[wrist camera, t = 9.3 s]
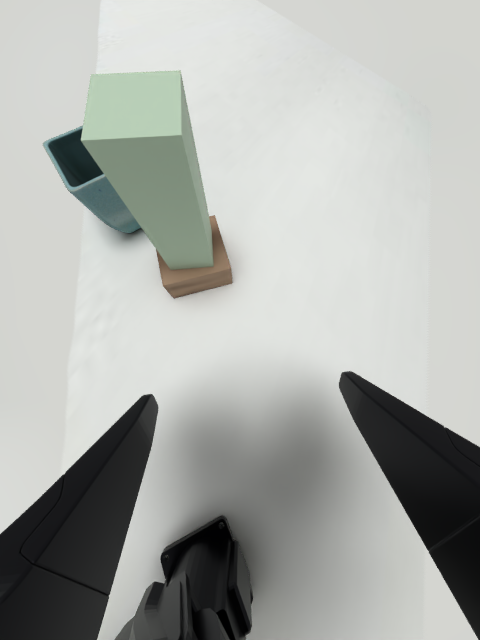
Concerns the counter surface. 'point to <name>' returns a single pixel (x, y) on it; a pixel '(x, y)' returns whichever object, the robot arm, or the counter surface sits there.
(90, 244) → the counter surface
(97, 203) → the flower pot
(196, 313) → the counter surface
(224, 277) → the walnut block
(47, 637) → the robot arm
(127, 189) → the sage pillar
